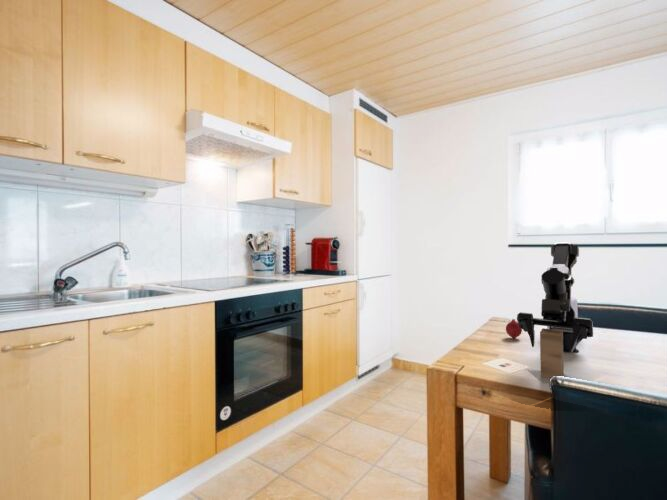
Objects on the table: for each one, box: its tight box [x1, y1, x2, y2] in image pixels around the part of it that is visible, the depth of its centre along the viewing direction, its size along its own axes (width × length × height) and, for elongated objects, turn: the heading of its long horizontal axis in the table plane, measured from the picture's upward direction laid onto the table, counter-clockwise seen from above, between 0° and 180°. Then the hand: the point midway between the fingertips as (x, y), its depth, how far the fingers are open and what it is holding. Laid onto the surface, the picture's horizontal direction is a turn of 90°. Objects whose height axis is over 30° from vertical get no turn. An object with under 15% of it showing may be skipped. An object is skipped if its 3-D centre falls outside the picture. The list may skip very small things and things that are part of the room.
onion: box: [505, 318, 523, 339], centre depth 139 cm, size 6×6×8 cm
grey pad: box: [528, 369, 569, 384], centre depth 98 cm, size 9×9×1 cm
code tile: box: [480, 357, 530, 374], centre depth 108 cm, size 10×10×1 cm
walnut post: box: [539, 327, 565, 379], centre depth 98 cm, size 5×5×13 cm
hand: (551, 349), depth 97 cm, fingers open, 9 cm apart
